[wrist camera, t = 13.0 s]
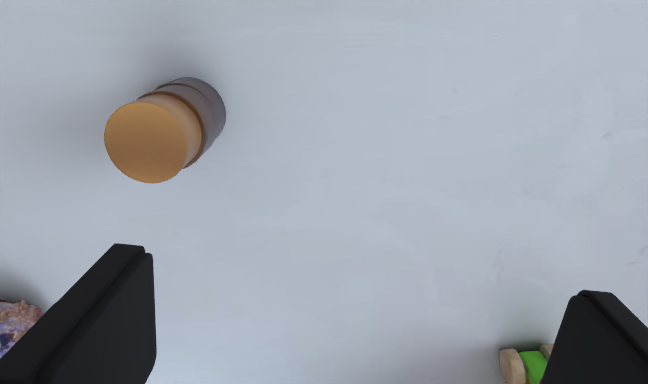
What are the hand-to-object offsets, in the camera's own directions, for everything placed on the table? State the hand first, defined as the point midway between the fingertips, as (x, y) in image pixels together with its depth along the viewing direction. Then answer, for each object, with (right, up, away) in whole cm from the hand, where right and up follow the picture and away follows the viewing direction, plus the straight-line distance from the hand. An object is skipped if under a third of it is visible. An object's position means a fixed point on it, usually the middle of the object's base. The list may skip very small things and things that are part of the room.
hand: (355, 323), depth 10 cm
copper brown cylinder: (-12, +7, +21) cm, 25 cm away
